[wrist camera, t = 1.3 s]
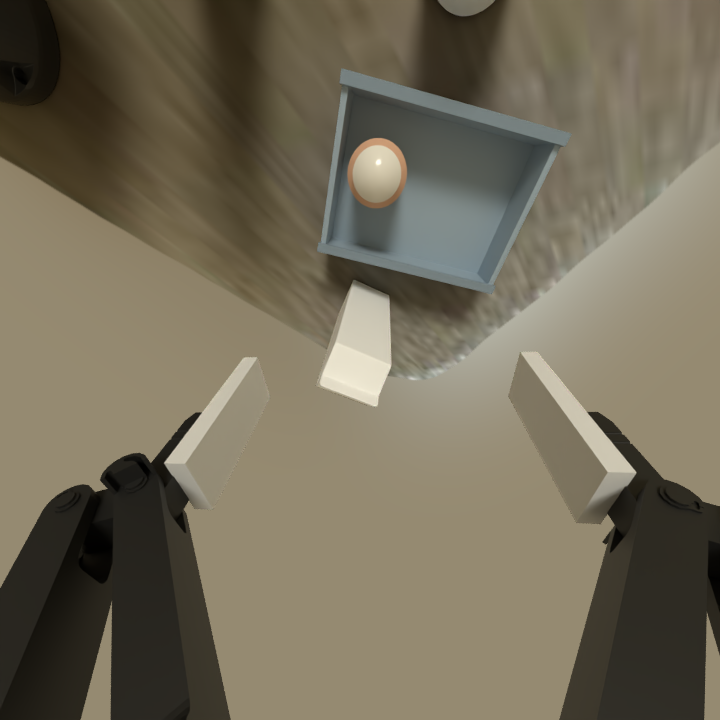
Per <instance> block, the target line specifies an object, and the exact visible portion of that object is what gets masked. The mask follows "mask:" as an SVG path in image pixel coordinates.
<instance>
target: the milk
mask: <svg viewBox="0 0 720 720" xmlns="http://www.w3.org/2000/svg"><path fill="white" fill-rule="evenodd" d="M390 368H391V336H390V300H389V295H387V294H385V293H383V292H381V291H378V290H376V289H374V288H372V287H370V286H367V285H365V284H363V283H361V282H359V281H356V280H353V282H352V284H351V286H350V289H349V291H348V293H347V296H346V298H345V300H344V303H343V305H342V307H341V310H340V312H339V315H338V318H337V321H336V324H335V327H334V330H333V334H332V337H331V340H330V343H329V346H328V349H327V352H326V356H325V358H324V362H323V365H322V368H321V371H320V374H319V377H318V381H317V383H316V386H317V387H320V388H322V389H325V390H328V391H330V392H333V393H335V394H338V395H341V396H344V397H346V398H349V399H351V400H354V401H357V402H359V403H362V404H364V405H371V406H374V407H376V406H378V397H379V394H380V392H381V390H382V387H383V385H384V382H385V380H386V378H387V375H388V373H389V370H390Z"/></svg>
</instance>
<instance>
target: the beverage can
mask: <svg viewBox="0 0 720 720" xmlns="http://www.w3.org/2000/svg"><path fill="white" fill-rule="evenodd" d="M494 1H495V0H438V2H439V3H440V4H441V5H442V6H443V7H444V8H445V9H446V10H447V11H448V12H450V13H452V14H454V15H458V16H471V15H474V14H477V13H479V12H481V11H483V10H485V9H486V8H487V7H489V6H490V5H491V4H492V3H493V2H494Z"/></svg>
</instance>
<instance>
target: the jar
mask: <svg viewBox="0 0 720 720" xmlns="http://www.w3.org/2000/svg"><path fill="white" fill-rule="evenodd" d="M347 175H348V183H349V187H350V190H351V192H352V194H353V195H354V197H355V198H356V199H357V200H358V201H359V202H360V203H361V204H363V205H365V206H367V207H369V208H383V207H386V206H388V205H390V204H392V203H393V202H394V201H395V200H396V199H397V198H398V197H399V196H400V194H401V193H402V191H403V189H404V186H405V183H406V179H407V166H406V161H405V158H404V156H403V154H402V152H401V150H400V149H399V148H398V147H397V146H396V145H395V144H394V143H393V142H391V141H389V140H387V139H383V138H373V139H369V140H367V141H365V142H363V143H362V144H361V145H360V146H359V147H358V148H357V149H356V150H355V151H354V153H353V154H352V157H351V159H350V162H349V165H348V172H347Z"/></svg>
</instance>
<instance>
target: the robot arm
mask: <svg viewBox="0 0 720 720" xmlns="http://www.w3.org/2000/svg"><path fill="white" fill-rule="evenodd" d="M58 73H59V48H58V41H57V36H56V32H55V28H54V24H53V21H52V18H51V15H50V12H49V9H48V7H47V4H46V2H45V0H0V102H6V103H12V104H17V105H32V104H36V103H39V102H41V101H43V100H44V99H46V98H47V97H48V96H49V95H50V93H51V92H52V90H53V89H54V87H55V84H56V81H57V78H58ZM269 399H270V395H269V392H268V389H267V385H266V382H265V379H264V376H263V372H262V369H261V366H260V363H259V360H258V357H251V358H250V357H245V358H243V360H242V361H241V362H240V363H239V365H238V366H237V367H236V369H235V370H234V371H233V373H232V374H231V375H230V377H229V378H228V379H227V381H226V382H225V383H224V385H223V386H222V387H221V389H220V390H219V391H218V393H217V394H216V395H215V396H214V398H213V399H212V400H211V402H210V403H209V404H208V406H207V407H206V408H205V410H204V411H203V412H202V413H195V414H193V415H192V416H191V417H189V418H188V419H187V420H185V421H184V423H183V424H182V425H181V427H180V428H179V429H178V431H177V432H176V433H175V434H174V435H173V436H172V439H171V440H169V441H168V443H167V444H166V445H165V446H164V448H163V449H162V450H161V452H160V453H159V454H158V455H157V456H156V458H155V459H154V460H153V461H152V463H150V462H149V460H148V459H147V457H146V456H145V455H144V454H141V453H133V454H130V455H127V456H124V457H122V458H120V459H118V460H116V461H115V462H113V463H112V464H111V465H110V466H109V467H107V469H106V470H105V471H104V472H103V474H102V476H101V479H100V481H101V482H102V483H103V484H104V485H105V486H106V487H107V488H108V489H106V490H102V491H98V492H95V491H94V490H92V488H91V487H90V486H89V485H77V486H74V487H71V488H69V489H67V490H65V491H63V492H62V493H60V494H59V495H57V496H56V497H55V498H53V499H52V500H51V501H50V502H49V503H48V504H47V506H46V507H45V508H44V510H43V511H42V513H41V515H40V517H39V519H38V520H37V522H36V524H35V526H34V528H33V529H32V531H31V533H30V535H29V537H28V539H27V541H26V542H25V544H24V546H23V548H22V550H21V551H20V554H19V555H18V557H17V559H16V561H15V562H14V564H13V566H12V568H11V570H10V572H9V574H8V575H7V577H6V579H5V581H4V583H3V584H2V586H1V588H0V720H80V719H81V716H82V712H83V707H84V704H85V700H86V697H87V692H88V689H89V685H90V681H91V678H92V674H93V670H94V666H95V662H96V658H97V654H98V651H99V647H100V643H101V640H102V636H103V632H104V628H105V624H106V621H107V616H108V613H109V609H110V605H111V602H112V652H111V655H112V656H111V720H230V715H229V710H228V706H227V701H226V696H225V691H224V687H223V682H222V677H221V673H220V668H219V664H218V659H217V654H216V650H215V645H214V640H213V636H212V631H211V626H210V622H209V617H208V612H207V607H206V603H205V598H204V594H203V589H202V584H201V580H200V575H199V570H198V566H197V561H196V556H195V552H194V547H193V542H192V538H191V533H190V528H189V524H188V519H187V515H186V513H185V511H184V508H185V506H186V504H187V503H188V501H190V503H191V504H192V506H193V507H194V509H211V510H213V509H214V507H215V505H216V503H217V501H218V499H219V497H220V495H221V493H222V491H223V489H224V487H225V485H226V483H227V482H228V480H229V477H230V476H231V474H232V472H233V470H234V468H235V466H236V464H237V462H238V460H239V458H240V456H241V454H242V452H243V450H244V448H245V446H246V444H247V442H248V440H249V438H250V436H251V434H252V432H253V431H254V429H255V426H256V425H257V422H258V421H259V418H260V416H261V415H262V413H263V411H264V409H265V407H266V405H267V403H268V401H269ZM509 399H510V400H511V402H512V404H513V406H514V408H515V410H516V412H517V413H518V415H519V417H520V419H521V421H522V423H523V425H524V426H525V428H526V430H527V432H528V434H529V436H530V438H531V440H532V441H533V443H534V445H535V447H536V449H537V450H538V452H539V454H540V456H541V458H542V460H543V462H544V464H545V466H546V467H547V469H548V471H549V473H550V475H551V477H552V479H553V481H554V482H555V484H556V486H557V488H558V489H559V492H560V494H561V495H562V497H563V499H564V501H565V503H566V505H567V507H568V508H569V510H570V512H571V514H572V516H573V518H574V520H575V522H576V523H592V524H601V522H602V521H603V520H604V518H605V517H606V515H607V514H608V515H609V516H610V518H611V520H612V521H613V523H614V524H615V526H614V527H613V529H612V530H611V531H610V532H609V534H608V535H607V536H606V538H605V539H604V541H603V543H605V544H607V543H608V544H607V548H606V551H605V556H604V559H603V562H602V566H601V569H600V573H599V577H598V581H597V584H596V588H595V591H594V595H593V599H592V602H591V606H590V610H589V613H588V617H587V621H586V624H585V628H584V632H583V635H582V639H581V643H580V646H579V650H578V654H577V657H576V661H575V664H574V668H573V672H572V675H571V679H570V683H569V686H568V690H567V694H566V697H565V701H564V705H563V708H562V712H561V716H560V719H559V720H704V703H705V662H706V619H707V618H706V617H707V613H708V617H709V620H710V623H711V627H712V630H713V634H714V637H715V640H716V644H717V647H718V651H719V654H720V506H716V505H712V504H709V503H705V502H702V500H701V499H700V498H699V497H698V496H696V495H695V494H694V493H693V492H691V491H690V490H688V489H686V488H685V487H683V486H681V485H679V484H677V483H674V482H671V481H668V480H664V479H663V478H662V477H661V476H660V475H659V474H658V472H657V471H656V470H655V469H654V468H653V467H652V466H651V465H650V463H649V462H648V461H647V460H646V459H645V458H644V457H643V456H642V455H641V453H640V452H639V451H638V450H637V449H636V448H635V447H634V446H633V445H632V444H630V441H629V440H628V439H627V438H626V437H625V436H624V435H622V432H621V431H620V430H619V429H618V428H617V427H616V426H615V425H614V423H613V422H612V421H610V420H609V419H607V418H606V417H604V416H603V415H602V414H600V413H598V412H586V411H585V410H584V408H583V407H582V406H581V405H580V403H579V402H578V401H577V400H576V398H575V397H574V396H573V395H572V394H571V392H570V391H569V390H568V389H567V388H566V387H565V385H564V384H563V383H562V381H561V380H560V379H559V378H558V377H557V376H556V374H555V373H554V372H553V371H552V370H551V368H550V367H549V366H548V364H547V363H546V362H545V361H544V360H543V358H542V357H541V356H540V355H539V354H538V352H520V355H519V358H518V362H517V366H516V370H515V373H514V377H513V381H512V385H511V388H510V392H509Z"/></svg>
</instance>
